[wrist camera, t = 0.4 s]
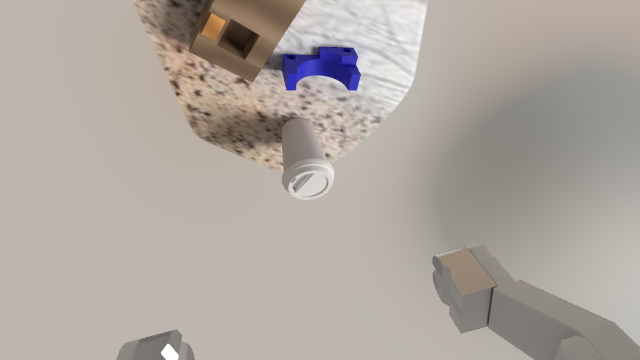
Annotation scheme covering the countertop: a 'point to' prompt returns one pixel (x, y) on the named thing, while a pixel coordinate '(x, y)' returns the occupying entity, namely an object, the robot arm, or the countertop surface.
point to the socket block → (242, 32)
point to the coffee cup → (304, 161)
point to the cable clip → (322, 66)
